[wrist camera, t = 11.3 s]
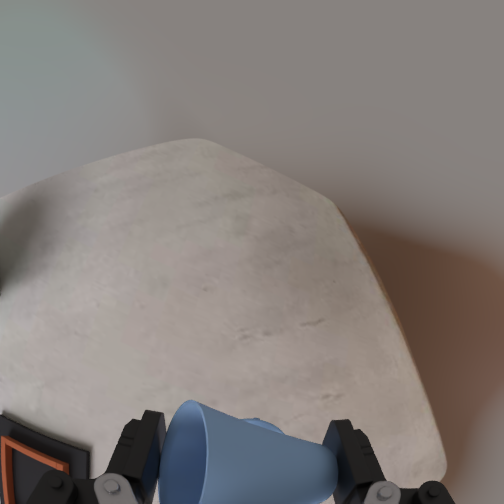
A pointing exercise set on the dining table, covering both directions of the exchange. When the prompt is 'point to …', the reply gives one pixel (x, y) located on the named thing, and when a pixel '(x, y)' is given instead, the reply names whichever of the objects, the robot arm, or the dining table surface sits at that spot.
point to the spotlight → (240, 462)
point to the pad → (33, 460)
